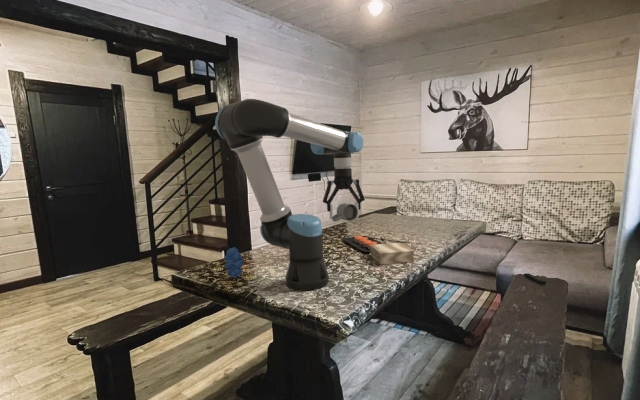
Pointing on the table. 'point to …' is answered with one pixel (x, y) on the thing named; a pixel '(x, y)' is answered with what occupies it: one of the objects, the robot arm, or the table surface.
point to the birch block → (391, 253)
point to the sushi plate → (365, 242)
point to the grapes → (234, 262)
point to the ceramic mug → (346, 212)
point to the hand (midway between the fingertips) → (344, 218)
